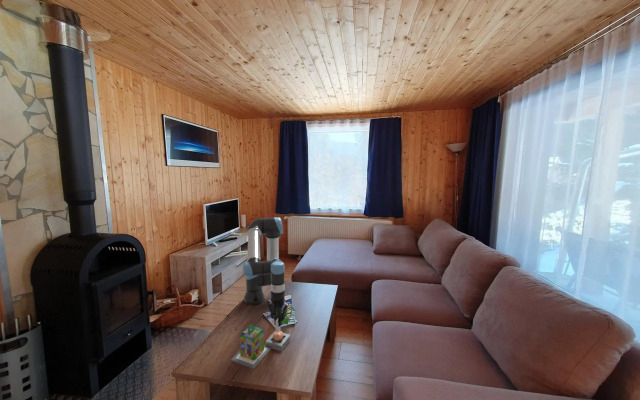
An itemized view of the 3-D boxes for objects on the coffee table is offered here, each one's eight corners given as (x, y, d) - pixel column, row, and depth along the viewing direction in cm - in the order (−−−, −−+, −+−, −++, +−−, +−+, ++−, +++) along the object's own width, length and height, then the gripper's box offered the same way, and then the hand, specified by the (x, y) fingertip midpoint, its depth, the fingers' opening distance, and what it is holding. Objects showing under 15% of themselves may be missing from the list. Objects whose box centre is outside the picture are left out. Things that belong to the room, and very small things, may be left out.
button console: (275, 335, 143) (275, 330, 142) (290, 339, 139) (290, 334, 139) (265, 346, 133) (265, 341, 133) (281, 351, 130) (281, 346, 129)
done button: (276, 333, 139) (276, 329, 139) (285, 336, 137) (285, 332, 137) (271, 339, 134) (271, 335, 134) (279, 342, 132) (279, 338, 132)
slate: (250, 342, 136) (250, 340, 136) (271, 348, 131) (271, 347, 131) (231, 360, 123) (231, 359, 122) (254, 369, 117) (254, 367, 117)
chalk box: (254, 361, 121) (253, 333, 120) (239, 356, 125) (238, 328, 123) (265, 349, 130) (264, 322, 129) (250, 344, 133) (250, 319, 132)
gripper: (263, 291, 132) (264, 332, 134) (284, 295, 127) (285, 337, 130) (271, 285, 139) (271, 324, 141) (291, 289, 134) (291, 329, 136)
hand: (278, 330), depth 135 cm, fingers closed
